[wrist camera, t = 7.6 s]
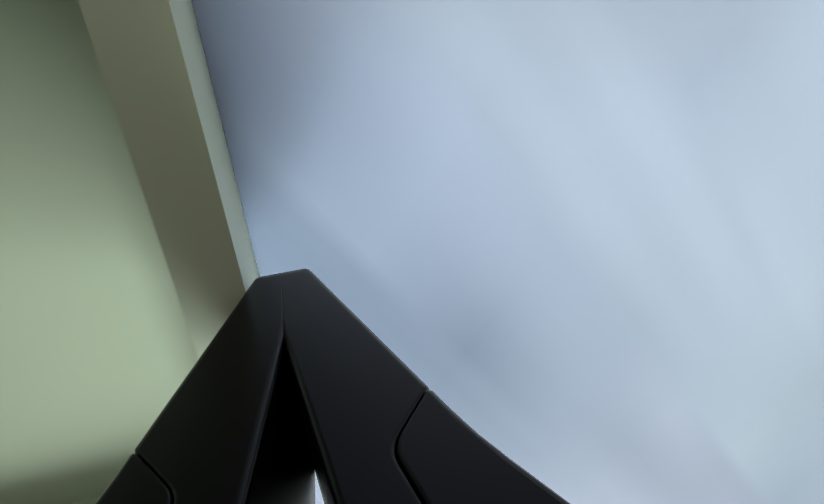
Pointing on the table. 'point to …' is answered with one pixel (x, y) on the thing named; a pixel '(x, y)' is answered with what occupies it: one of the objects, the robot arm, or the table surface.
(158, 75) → the tray
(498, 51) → the table surface
